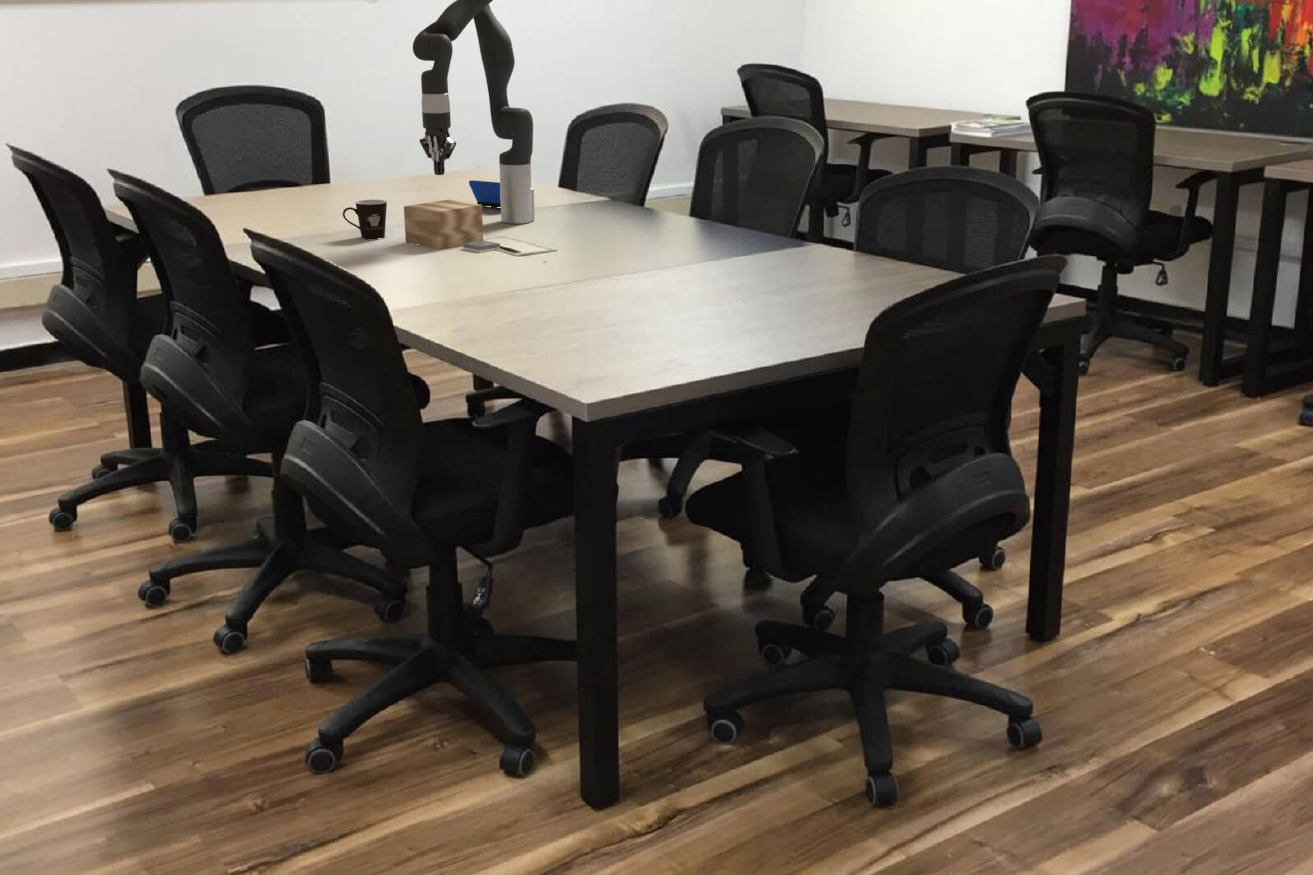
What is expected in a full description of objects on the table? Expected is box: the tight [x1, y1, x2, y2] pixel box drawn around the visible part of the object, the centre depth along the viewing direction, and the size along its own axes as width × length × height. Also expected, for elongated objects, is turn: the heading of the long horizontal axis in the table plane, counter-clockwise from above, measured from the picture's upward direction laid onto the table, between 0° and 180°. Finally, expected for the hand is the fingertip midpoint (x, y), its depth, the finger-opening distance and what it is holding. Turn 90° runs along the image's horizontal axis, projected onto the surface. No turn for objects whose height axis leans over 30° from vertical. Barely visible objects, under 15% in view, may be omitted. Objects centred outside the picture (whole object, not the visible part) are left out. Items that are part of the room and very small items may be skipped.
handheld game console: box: [468, 179, 501, 207], centre depth 466 cm, size 16×13×9 cm
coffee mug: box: [342, 199, 388, 240], centre depth 416 cm, size 12×9×10 cm
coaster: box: [462, 239, 501, 253], centre depth 401 cm, size 7×7×2 cm
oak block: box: [403, 199, 484, 250], centre depth 410 cm, size 16×14×10 cm
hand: (439, 174), depth 406 cm, fingers closed
